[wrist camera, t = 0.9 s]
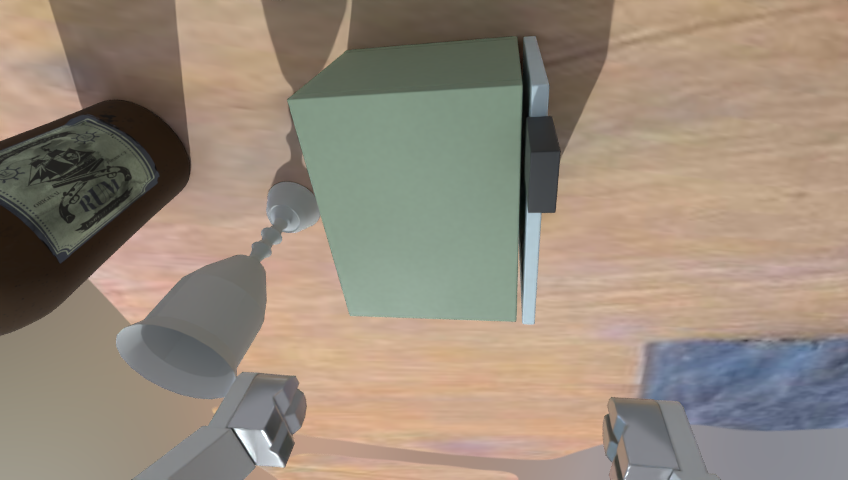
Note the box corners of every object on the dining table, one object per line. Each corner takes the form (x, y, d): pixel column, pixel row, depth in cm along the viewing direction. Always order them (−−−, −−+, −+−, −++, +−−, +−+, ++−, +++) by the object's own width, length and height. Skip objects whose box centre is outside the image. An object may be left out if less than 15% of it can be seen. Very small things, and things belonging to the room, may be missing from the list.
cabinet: (517, 35, 29) (522, 84, 20) (513, 231, 38) (516, 322, 29) (346, 49, 31) (286, 99, 22) (382, 231, 40) (349, 316, 32)
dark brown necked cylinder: (162, 218, 43) (-127, 470, 23) (62, 138, 39) (-391, 359, 19) (220, 163, 38) (-86, 423, 18) (112, 64, 34) (-430, 260, 14)
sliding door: (539, 35, 28) (563, 114, 17) (530, 234, 37) (541, 374, 26) (520, 36, 28) (531, 116, 17) (515, 234, 38) (521, 373, 26)
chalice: (253, 220, 42) (122, 376, 27) (258, 161, 38) (108, 308, 23) (325, 245, 42) (234, 411, 28) (338, 189, 38) (239, 350, 24)
